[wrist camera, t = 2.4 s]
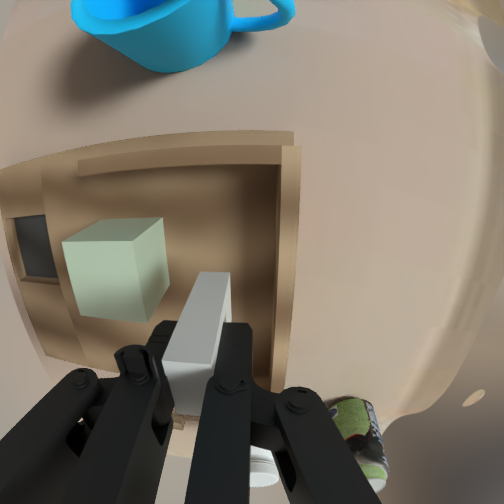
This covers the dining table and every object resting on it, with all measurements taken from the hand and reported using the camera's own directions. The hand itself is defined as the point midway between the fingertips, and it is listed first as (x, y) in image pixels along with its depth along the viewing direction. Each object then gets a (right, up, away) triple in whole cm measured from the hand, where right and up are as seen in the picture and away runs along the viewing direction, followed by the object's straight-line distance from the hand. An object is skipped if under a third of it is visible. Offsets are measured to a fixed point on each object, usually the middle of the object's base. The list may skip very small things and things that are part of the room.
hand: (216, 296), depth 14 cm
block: (-7, +2, +5) cm, 8 cm away
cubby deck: (-9, +1, +7) cm, 11 cm away
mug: (-2, +18, +1) cm, 18 cm away
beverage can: (+12, -15, +13) cm, 24 cm away
